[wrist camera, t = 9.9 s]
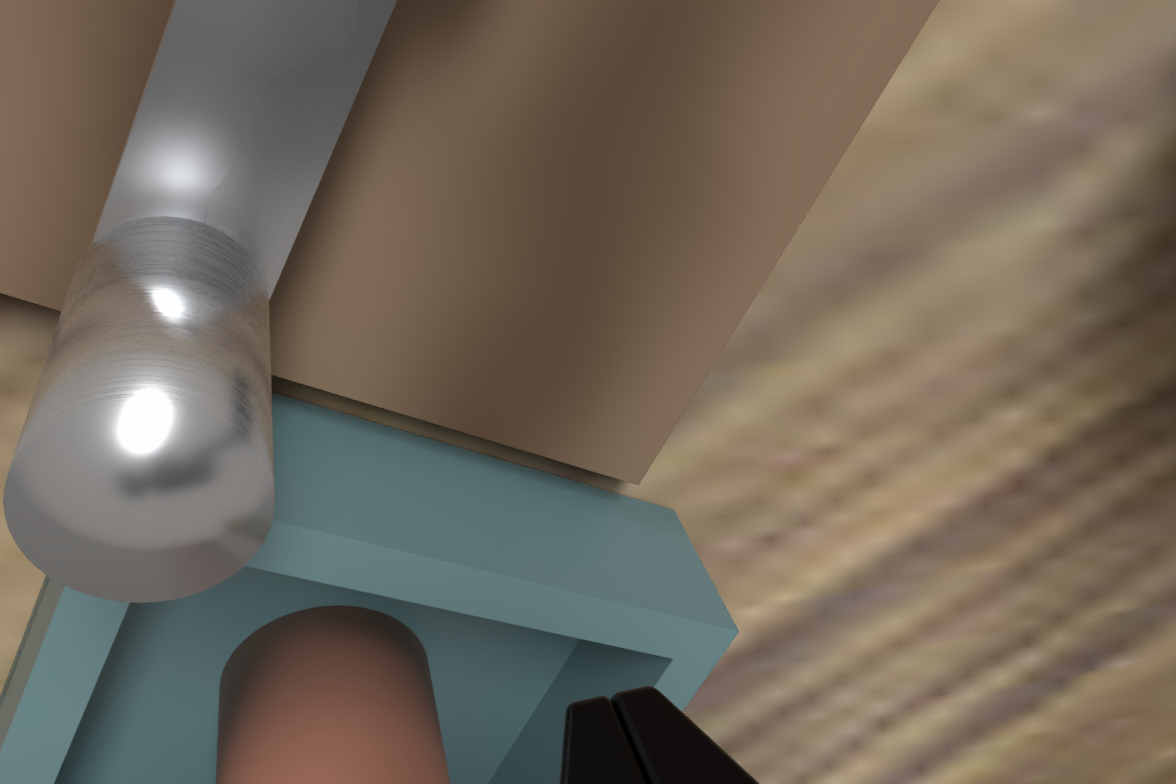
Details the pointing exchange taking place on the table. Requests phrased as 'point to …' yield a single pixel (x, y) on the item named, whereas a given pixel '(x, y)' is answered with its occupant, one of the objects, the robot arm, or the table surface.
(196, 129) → the crank
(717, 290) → the crank base
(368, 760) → the pin
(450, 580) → the tray
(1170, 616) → the table surface
